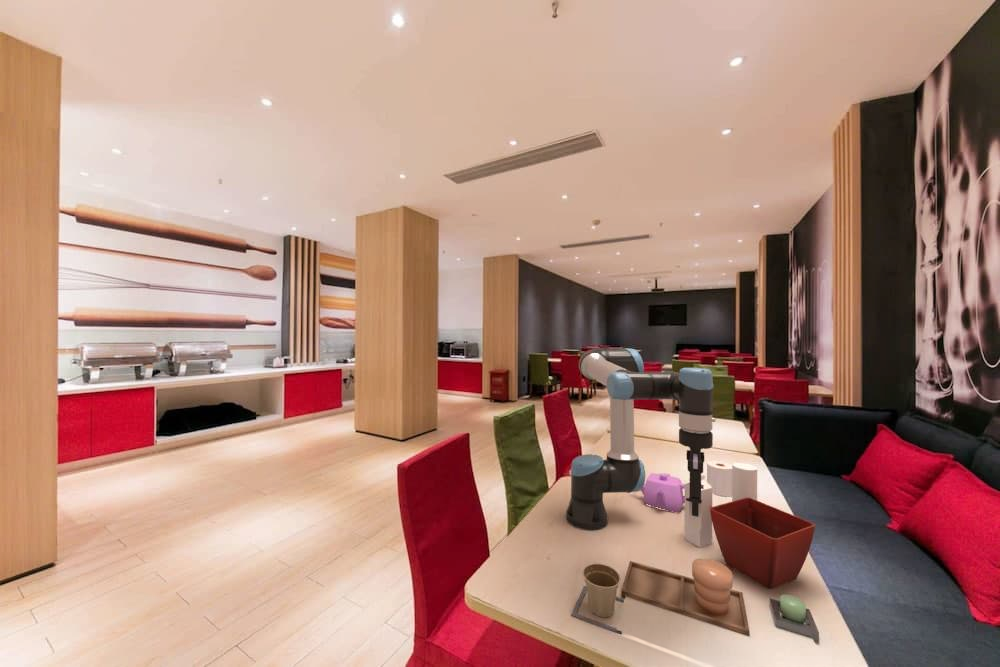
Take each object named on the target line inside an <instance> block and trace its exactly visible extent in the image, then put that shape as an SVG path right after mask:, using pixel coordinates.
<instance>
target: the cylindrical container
mask: <svg viewBox="0 0 1000 667" xmlns="http://www.w3.org/2000/svg"><path fill="white" fill-rule="evenodd" d="M731 465H732V496H731V502H732V501H736V500H739V499H743V498H752V499H754V500H757V501H758V467H756V466H754V465H752V464H750V463H742V462H733V463H732V464H731Z"/></svg>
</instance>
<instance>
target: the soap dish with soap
mask: <svg viewBox="0 0 1000 667" xmlns="http://www.w3.org/2000/svg"><path fill="white" fill-rule="evenodd" d="M769 608H770V612H771V615H772V616H771V617H772V619H773V622H774V626H775V627H776V628H778V629H782V630H785V631H788V632H791V633H795V634H798V635H801V636H805V637H808V638H811V639H813V642H814V643H816V642H817V644H820V631H819V629H818V626H817V625H816V622H815V619H814V617H813V615H812V612H811V609H810V608H807V607H806V621H805V622H804V623H798V622H794V621H791V620H789V619H787V618H785V617H784V618H783V617H782V614H781V612H780V600H779V599H778V600H777V599H774V598H771V597H770V598H769ZM805 623H806V624H805Z"/></svg>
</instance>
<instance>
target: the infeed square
mask: <svg viewBox="0 0 1000 667" xmlns="http://www.w3.org/2000/svg"><path fill="white" fill-rule="evenodd" d="M585 594H587V588H586V585H583V587H582V589H581V591H580V594H579V595H578V598H577V600H576V602H575V604H574V606H573V609H572V611H571V615H570V616H571V617H572V618H576V619H579V620H581V621H584V622H587V623H590V624H592V625H595V626H598V627H599V628H603V629H606V630H608V631H610V632H613V633H615V634H619V635H622V634H623V631H621V630H618V629H617V627H614V626H612V625H609V624H606V623H603V622H600V621H598V620H595V619H592V618H590V617H587V616H584V615H581V614H578V611H579V608H580V606H581V605H582V602H583V599H584V597H585ZM625 599H626V598H622V597H620V596H617V595H616V600H615V601H618V602H620V603H625Z"/></svg>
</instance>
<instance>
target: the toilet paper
mask: <svg viewBox="0 0 1000 667" xmlns="http://www.w3.org/2000/svg"><path fill="white" fill-rule="evenodd" d="M706 482H707V483H708V484H709V485H710V486H711V487H712V495H715V496H719V497H732V464H730V463H727V462H725V461H724V462H723V461H715V460H714V461H712V460H710V461H708V462H707V463H706Z"/></svg>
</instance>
